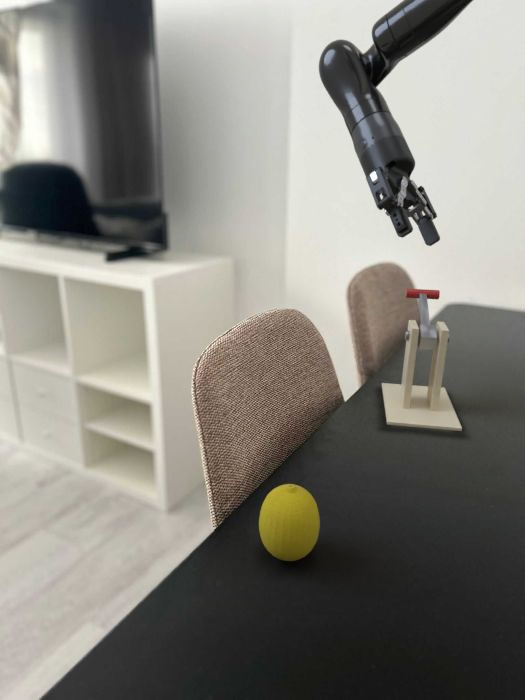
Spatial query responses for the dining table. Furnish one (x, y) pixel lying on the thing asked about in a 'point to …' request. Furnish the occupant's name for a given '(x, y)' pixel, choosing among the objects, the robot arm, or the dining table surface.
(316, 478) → the dining table surface
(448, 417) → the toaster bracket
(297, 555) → the lemon
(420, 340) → the lever
